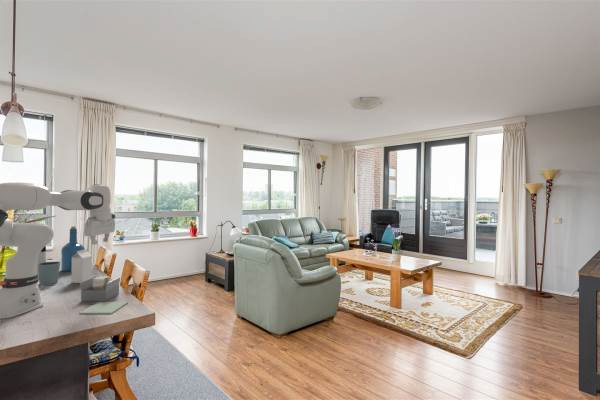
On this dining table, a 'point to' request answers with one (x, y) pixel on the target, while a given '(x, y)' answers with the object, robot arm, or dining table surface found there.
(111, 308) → the sage mat
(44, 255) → the travel mug
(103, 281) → the box
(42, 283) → the grey-green plant pot
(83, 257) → the milk carton
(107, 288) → the storage tote
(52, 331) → the dining table surface
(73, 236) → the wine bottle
